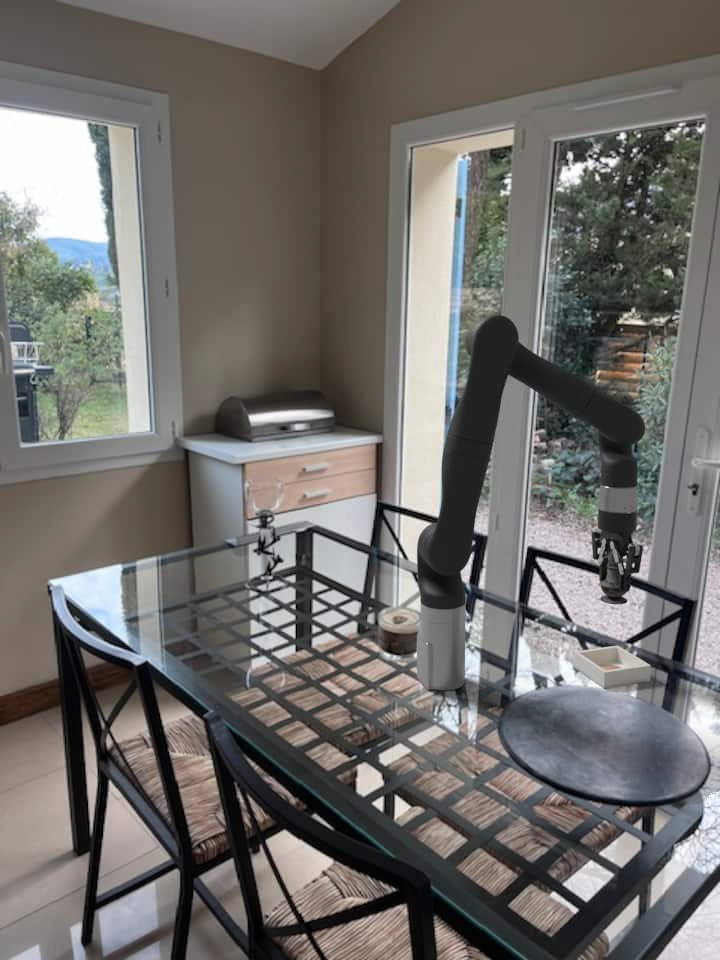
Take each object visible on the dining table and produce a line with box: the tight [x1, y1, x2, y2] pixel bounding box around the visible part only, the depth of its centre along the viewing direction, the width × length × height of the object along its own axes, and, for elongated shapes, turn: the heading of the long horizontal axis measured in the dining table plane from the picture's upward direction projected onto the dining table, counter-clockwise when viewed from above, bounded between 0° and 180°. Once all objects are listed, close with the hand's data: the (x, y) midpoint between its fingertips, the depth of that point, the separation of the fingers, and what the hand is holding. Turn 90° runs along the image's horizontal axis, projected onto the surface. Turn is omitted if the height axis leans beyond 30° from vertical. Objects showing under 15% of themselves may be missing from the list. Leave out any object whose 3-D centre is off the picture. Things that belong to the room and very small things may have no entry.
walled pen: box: [572, 645, 652, 689], centre depth 152 cm, size 11×11×4 cm
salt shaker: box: [599, 551, 628, 605], centre depth 148 cm, size 6×6×12 cm
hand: (614, 586), depth 149 cm, fingers closed on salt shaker, 6 cm apart
